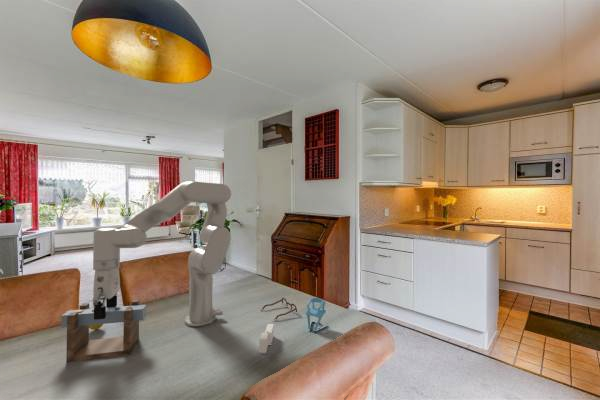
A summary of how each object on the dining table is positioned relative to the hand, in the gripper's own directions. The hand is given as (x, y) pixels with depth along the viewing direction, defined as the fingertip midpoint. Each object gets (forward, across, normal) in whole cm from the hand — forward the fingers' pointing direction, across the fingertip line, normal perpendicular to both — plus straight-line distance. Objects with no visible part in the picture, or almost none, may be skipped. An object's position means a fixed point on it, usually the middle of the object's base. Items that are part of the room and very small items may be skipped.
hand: (106, 312), depth 93 cm
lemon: (+13, +16, +9) cm, 23 cm away
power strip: (+3, 0, 0) cm, 3 cm away
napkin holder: (+14, -10, -54) cm, 57 cm away
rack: (+13, 0, 0) cm, 13 cm away
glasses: (+14, +16, -65) cm, 68 cm away
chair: (+13, -2, -77) cm, 78 cm away
